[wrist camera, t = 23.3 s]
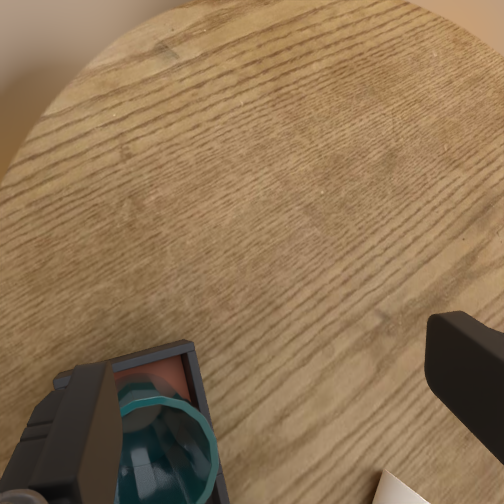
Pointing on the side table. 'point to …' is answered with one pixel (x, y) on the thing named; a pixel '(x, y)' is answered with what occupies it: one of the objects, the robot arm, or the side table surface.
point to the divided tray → (176, 373)
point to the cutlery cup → (163, 445)
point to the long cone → (395, 492)
